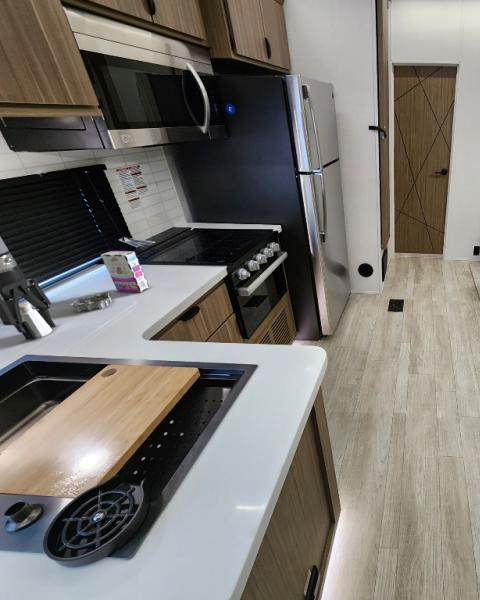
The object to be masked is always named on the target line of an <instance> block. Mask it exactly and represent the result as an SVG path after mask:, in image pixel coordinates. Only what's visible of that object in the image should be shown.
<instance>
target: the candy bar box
mask: <svg viewBox="0 0 480 600" xmlns="http://www.w3.org/2000/svg"><path fill="white" fill-rule="evenodd" d="M100 257H101V259H102V261H103V264H104V265H105V267H106V270H107V272H108V274H109V277H110V278H111V280H112V282H113V285H114V287H115V289H116V291H117V292H123V293H124V292H126V293H142V292H145V291H147V290H148V289H149V288H150V286H149V283H148V280H147V278H146V276H145V273H144V271H143V268H142V266H141V263H140V261H139V259H138V256H137V254H136V251H133V250H132V251H130V250H110V251H107V252H104V253H101V254H100Z"/></svg>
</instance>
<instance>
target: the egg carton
mask: <svg viewBox="0 0 480 600" xmlns="http://www.w3.org/2000/svg"><path fill="white" fill-rule="evenodd" d="M109 294H110V292H109V291H103V292H100V293H99V294H95V295H93V296H88V297H84V298H82V297H81V298H77V299H75V300H74V301H72V302H71V303H69V305H71V306H72V307H73V309H74V311H75V312H77V313H81V312H83V311H87V310H88V311H93V310H95V309H99V310H102V309H105V308H107V307H109V304H110V303H111V304H112V302H113V300H112V299H111V297H110V296H109Z"/></svg>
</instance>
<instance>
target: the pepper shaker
mask: <svg viewBox="0 0 480 600" xmlns="http://www.w3.org/2000/svg"><path fill="white" fill-rule="evenodd" d="M19 308H20V312H21V316H22V321H23V322H24V321H26V322H27V323H28V325H29V326H30V328H31V329H32V331H33V332H34V334H35V335H36V337H37V338H42V337H44V336H47V335H49V334H51V332H52V331H53V329H52V327H51V328H50V326H49V325H48V324H47V323H46V322H45V320H44V319H43V318H42V317H41V316H40V314H39V313H38V312H37V309H34V308H32V305H31V304H30V303H29V302H26V303H22V304H19Z"/></svg>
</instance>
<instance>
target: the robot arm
mask: <svg viewBox="0 0 480 600" xmlns="http://www.w3.org/2000/svg"><path fill="white" fill-rule="evenodd" d="M20 298H22V299H23V300H25V301H26V302H27V303H29V304H30V306H33V307H34V308H35V310H36V311H37V312H38V313H39V314H40V316H41V317H42V318H43V319H44V320H45V322H46V323H47V324H48V325H49V326H50V328H51V329H52V328H56V327H57V325H56V323H55V322H54V321H53V319H52V318H51V317H52V315H51V313H50V311H49V310H50V309H51V305H52V301H50V299H49V298H48V296H47V295H46V293H45V292H44V291H43V289H42V288H41V287H40V285H39V283H38V280H37V278H25V274H24V273H23V271H22V270H21V268H20V267H19V266H18V264H17V262H16V260H15V259H14V257H13V255H12V253H11V252H10V251H9V248H8V247H7V245H6V243H5V242H4V241H3V239H2V237H1V236H0V321H1V322H2V324H3V326H14V328H15V329H16V331H17V332H18V333H20V334H22V336H23V337H24V339H25V340H26V341H33V340H34V341H35V340H37V339H38V337H36V335H35V334H34V332H33V331H32V329H31V328H30V326H29V325H28V323H27V322H26V321H24V322H23V321H22V316H21V311H20V308H19V305H20V304H19V302H20Z"/></svg>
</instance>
